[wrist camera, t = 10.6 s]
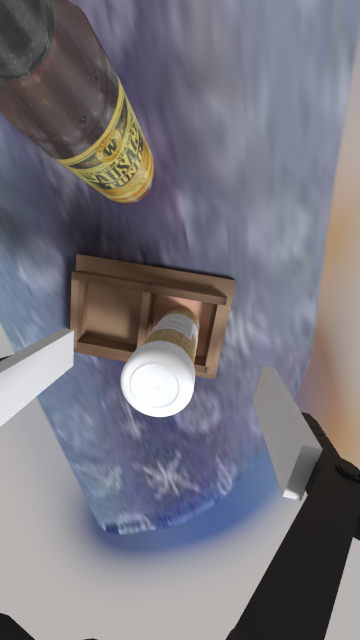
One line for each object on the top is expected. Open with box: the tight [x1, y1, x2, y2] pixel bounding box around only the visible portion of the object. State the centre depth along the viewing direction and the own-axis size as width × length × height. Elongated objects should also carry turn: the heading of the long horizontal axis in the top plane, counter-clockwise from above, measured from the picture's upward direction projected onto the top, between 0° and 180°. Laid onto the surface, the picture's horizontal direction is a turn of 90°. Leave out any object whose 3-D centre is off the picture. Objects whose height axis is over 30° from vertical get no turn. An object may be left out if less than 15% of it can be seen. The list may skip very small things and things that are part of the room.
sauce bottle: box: [0, 0, 155, 204], centre depth 14 cm, size 6×6×20 cm
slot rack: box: [70, 254, 236, 379], centre depth 26 cm, size 12×18×3 cm, turn 81°
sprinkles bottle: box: [121, 307, 199, 417], centre depth 20 cm, size 5×5×14 cm
